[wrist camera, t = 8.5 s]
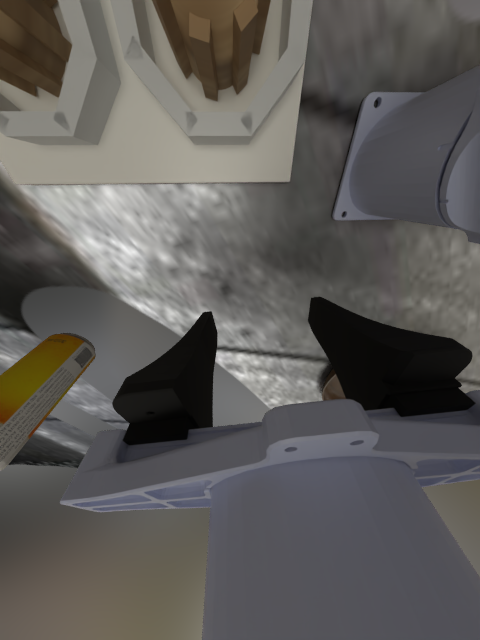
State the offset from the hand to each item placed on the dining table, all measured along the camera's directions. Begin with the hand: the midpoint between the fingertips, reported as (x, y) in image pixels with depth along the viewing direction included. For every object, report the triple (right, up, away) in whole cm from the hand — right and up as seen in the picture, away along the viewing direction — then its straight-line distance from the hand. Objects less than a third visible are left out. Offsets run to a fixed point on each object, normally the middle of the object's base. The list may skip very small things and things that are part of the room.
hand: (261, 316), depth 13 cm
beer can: (-26, -4, +14) cm, 30 cm away
